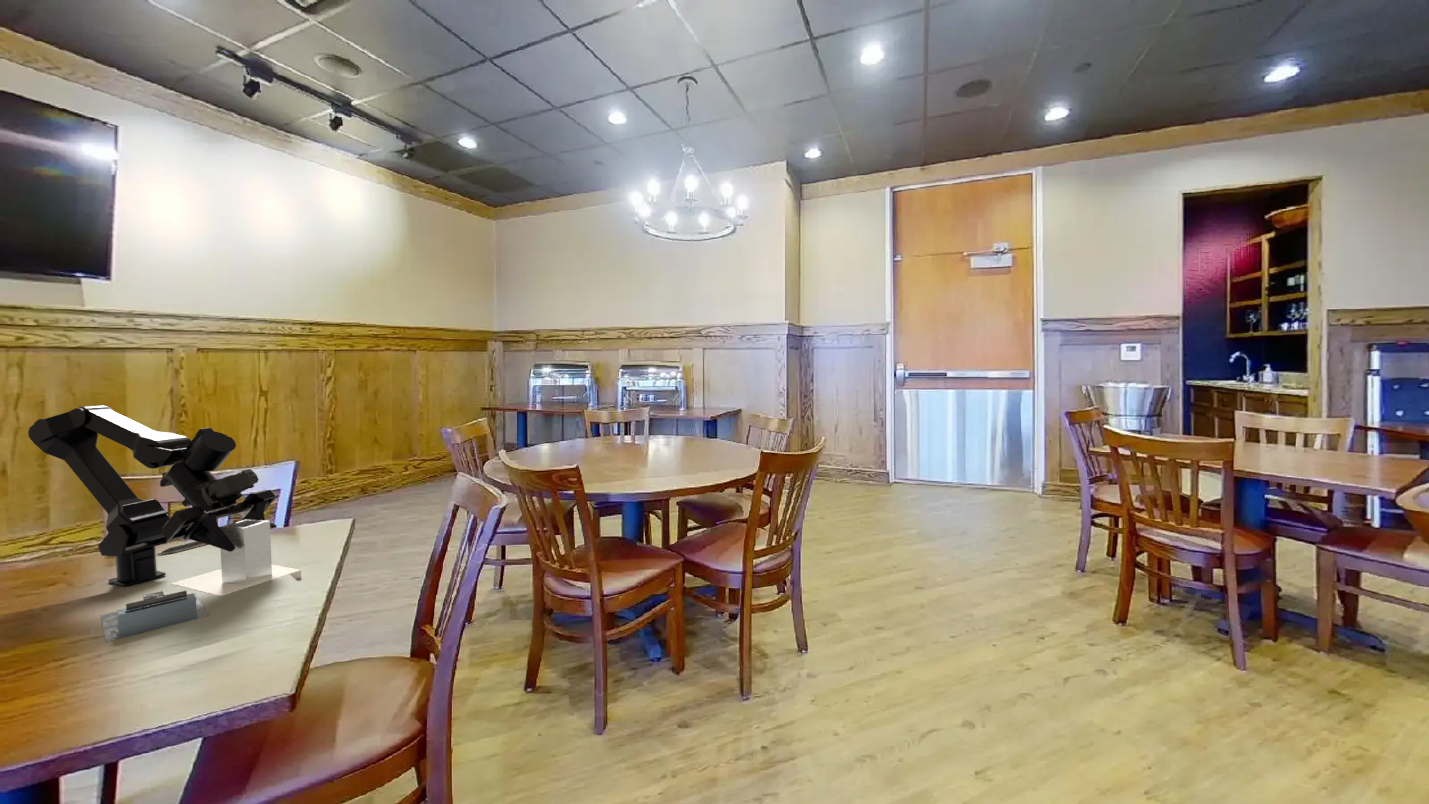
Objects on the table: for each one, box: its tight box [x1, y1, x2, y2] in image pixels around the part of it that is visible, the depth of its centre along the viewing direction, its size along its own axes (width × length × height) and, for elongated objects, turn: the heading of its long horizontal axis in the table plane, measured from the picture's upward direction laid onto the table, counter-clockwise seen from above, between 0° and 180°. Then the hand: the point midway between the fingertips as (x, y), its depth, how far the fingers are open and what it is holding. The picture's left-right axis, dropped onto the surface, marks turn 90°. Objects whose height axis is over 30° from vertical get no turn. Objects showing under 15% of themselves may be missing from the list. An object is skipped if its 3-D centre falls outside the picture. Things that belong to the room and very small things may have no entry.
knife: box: [156, 522, 278, 556], centre depth 143 cm, size 25×6×1 cm, turn 156°
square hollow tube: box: [219, 519, 273, 585], centre depth 112 cm, size 5×5×11 cm
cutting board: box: [170, 563, 302, 597], centre depth 114 cm, size 16×14×2 cm
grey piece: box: [100, 590, 210, 643], centre depth 96 cm, size 14×12×6 cm
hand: (251, 544), depth 112 cm, fingers open, 7 cm apart
